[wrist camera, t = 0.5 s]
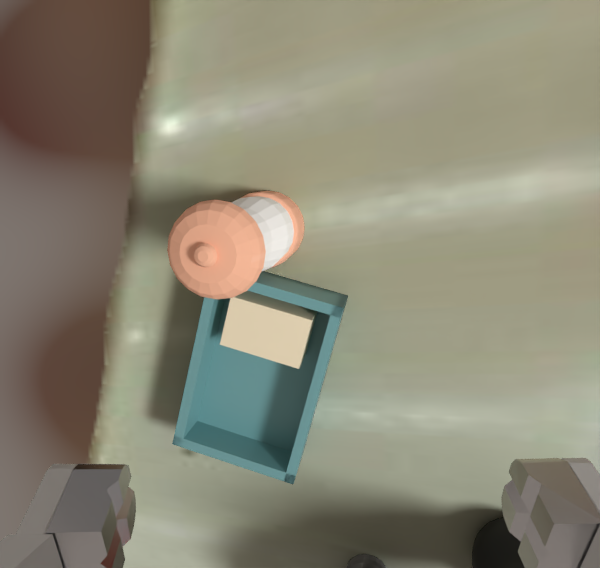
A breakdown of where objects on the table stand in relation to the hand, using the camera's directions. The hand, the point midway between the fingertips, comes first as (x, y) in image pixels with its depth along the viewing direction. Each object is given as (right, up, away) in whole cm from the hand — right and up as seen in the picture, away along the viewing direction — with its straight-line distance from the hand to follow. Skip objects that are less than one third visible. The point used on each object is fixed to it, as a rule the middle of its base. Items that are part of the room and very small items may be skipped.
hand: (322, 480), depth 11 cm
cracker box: (-3, 0, +42) cm, 42 cm away
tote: (-4, -4, +45) cm, 45 cm away
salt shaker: (-4, +10, +42) cm, 43 cm away
